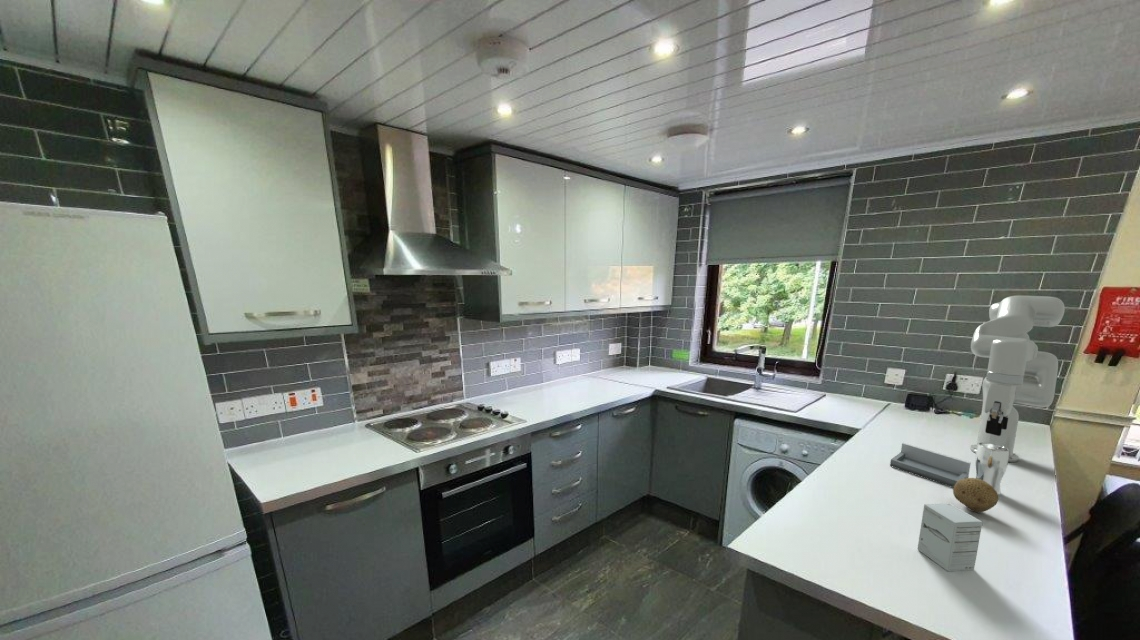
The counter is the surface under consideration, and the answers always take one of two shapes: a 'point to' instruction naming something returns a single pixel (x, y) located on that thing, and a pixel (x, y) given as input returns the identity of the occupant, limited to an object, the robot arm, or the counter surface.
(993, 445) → the beer glass
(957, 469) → the guarded tray
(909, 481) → the counter surface
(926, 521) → the supplement box
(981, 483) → the natural sponge
